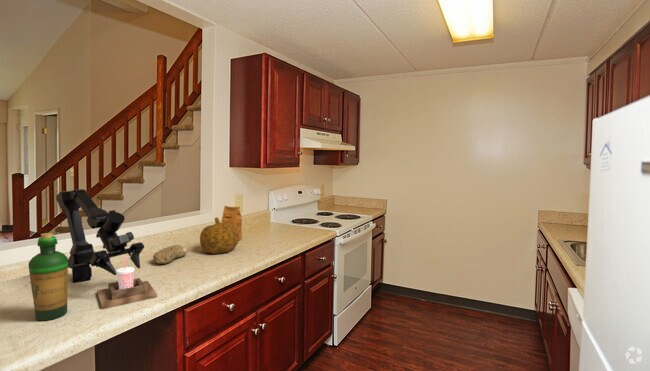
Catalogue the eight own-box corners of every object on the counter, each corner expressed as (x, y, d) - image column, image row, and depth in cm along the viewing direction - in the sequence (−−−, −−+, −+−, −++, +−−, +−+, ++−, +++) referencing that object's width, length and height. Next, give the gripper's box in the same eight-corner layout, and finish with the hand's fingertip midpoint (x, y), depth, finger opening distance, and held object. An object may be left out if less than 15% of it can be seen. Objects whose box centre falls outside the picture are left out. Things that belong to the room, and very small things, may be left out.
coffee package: (228, 237, 235) (227, 204, 233) (244, 239, 230) (243, 205, 228) (218, 240, 225) (217, 206, 223) (235, 242, 221) (234, 207, 219)
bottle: (26, 325, 113) (20, 238, 110) (37, 311, 123) (32, 231, 120) (66, 319, 117) (62, 235, 115) (74, 306, 127) (70, 229, 124)
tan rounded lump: (173, 256, 195) (142, 258, 177) (177, 242, 195) (146, 243, 177) (191, 264, 189) (159, 267, 171) (195, 250, 189) (164, 251, 171)
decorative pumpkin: (242, 252, 195) (238, 216, 193) (202, 259, 188) (197, 222, 186) (238, 245, 214) (234, 212, 212) (201, 251, 207) (197, 217, 205)
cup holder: (102, 309, 125) (101, 297, 125) (97, 293, 139) (96, 282, 139) (157, 297, 136) (156, 286, 135) (147, 283, 150) (147, 273, 150)
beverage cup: (129, 288, 142) (127, 253, 141) (138, 290, 139) (137, 255, 138) (113, 293, 136) (112, 257, 135) (123, 296, 133) (121, 259, 132)
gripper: (92, 230, 129) (110, 265, 125) (140, 222, 145) (158, 252, 141) (81, 249, 134) (99, 283, 129) (130, 239, 150) (147, 269, 145)
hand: (127, 271), depth 136 cm, fingers open, 9 cm apart
